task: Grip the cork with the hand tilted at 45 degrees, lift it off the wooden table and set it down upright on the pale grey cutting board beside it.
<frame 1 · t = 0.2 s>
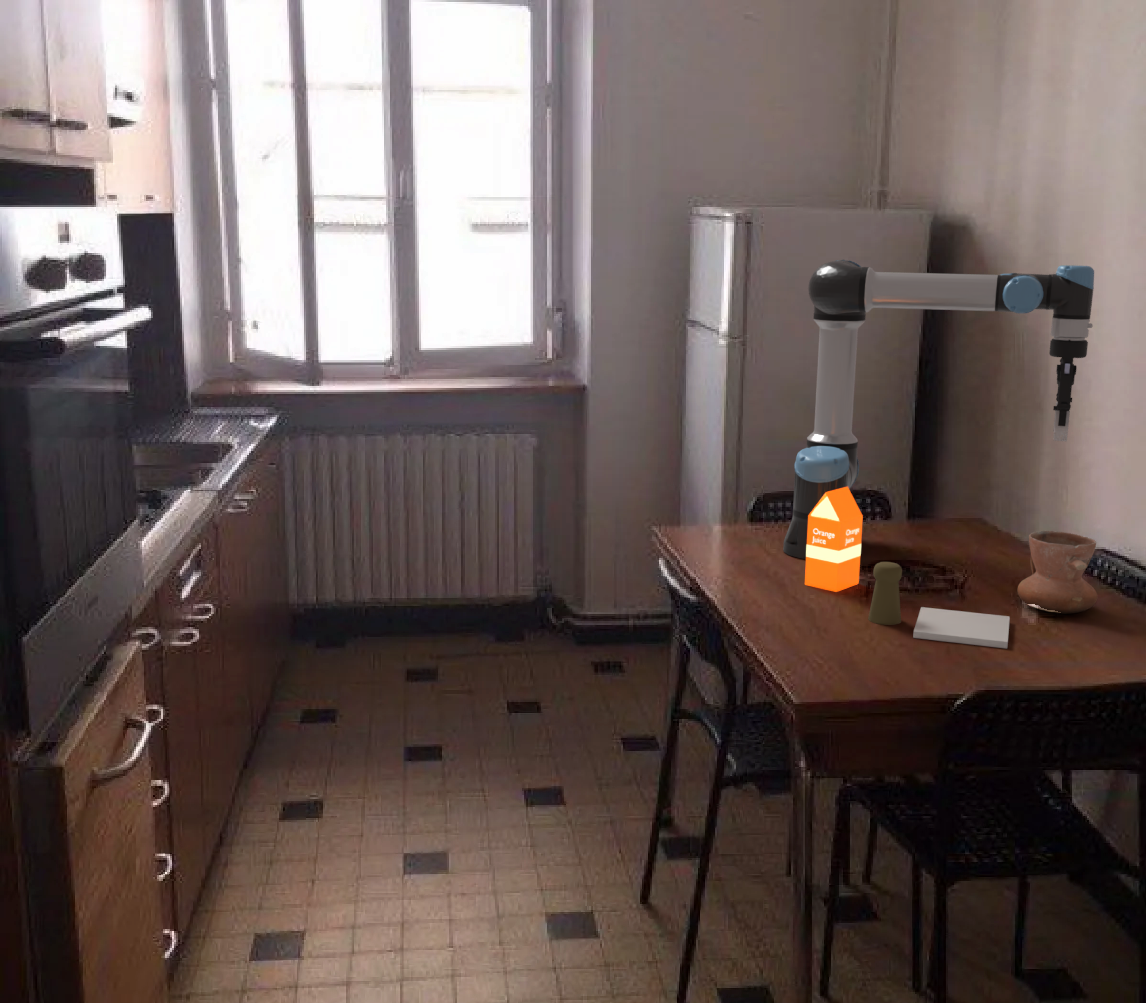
hand: (1059, 436, 274), 28 cm above the table, tool pointing down, fingers open, 13 cm apart
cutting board: (962, 630, 230), on the table
cork: (884, 620, 236), on the table
ceramic jug: (1053, 608, 245), on the table
orange juice: (831, 585, 259), on the table
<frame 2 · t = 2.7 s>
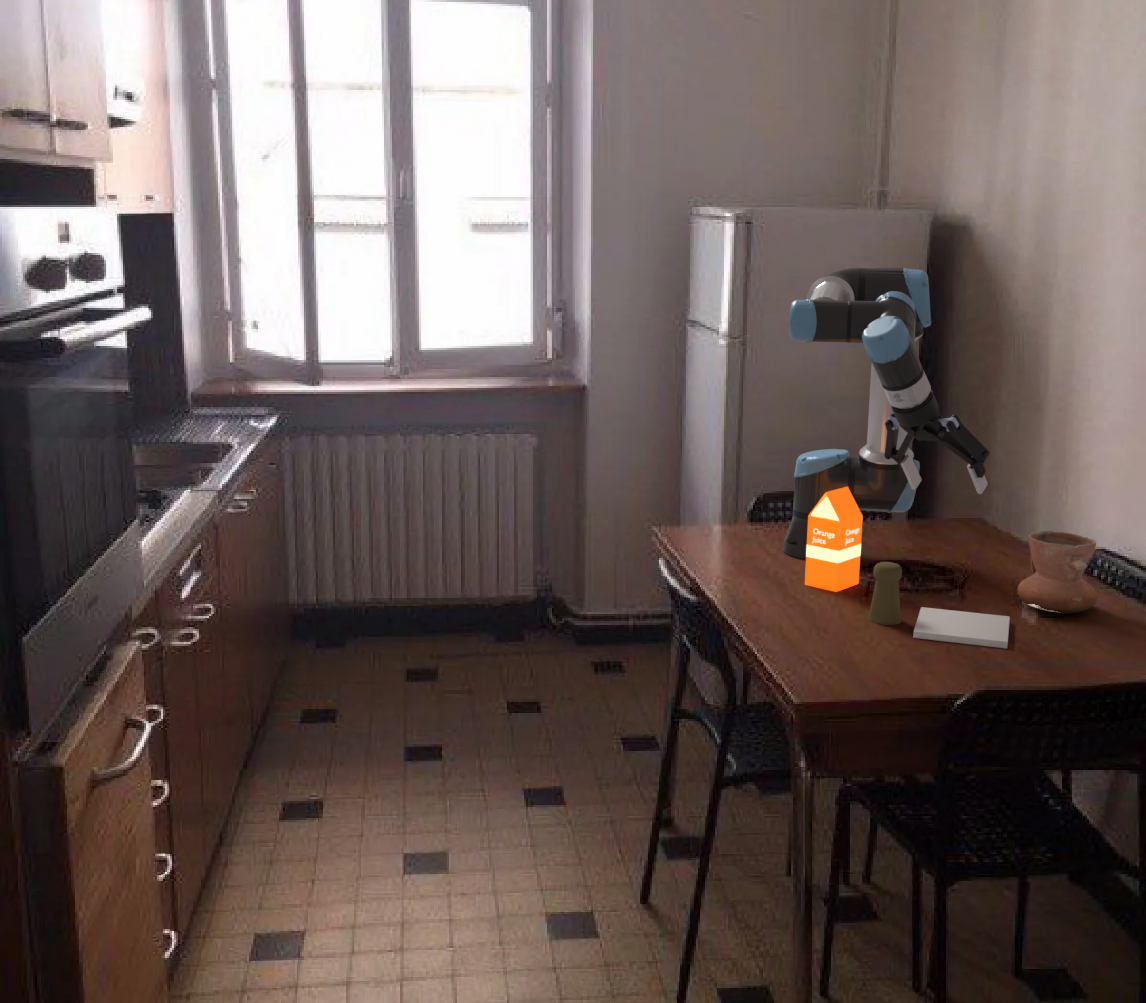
hand: (949, 486, 232), 25 cm above the table, tool tilted 35°, fingers open, 13 cm apart
nothing on the table moved.
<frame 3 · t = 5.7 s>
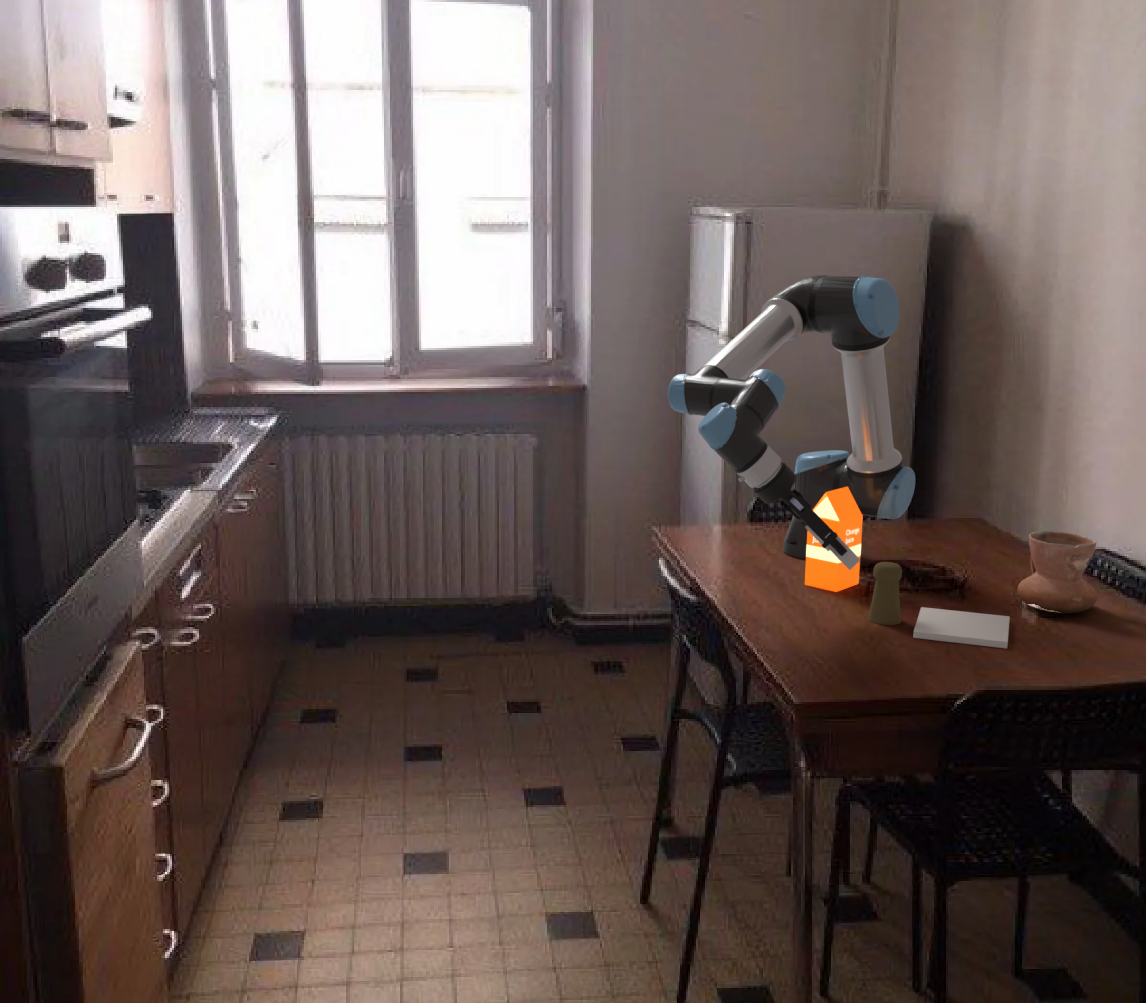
hand: (843, 555, 232), 13 cm above the table, tool tilted 45°, fingers open, 13 cm apart
nothing on the table moved.
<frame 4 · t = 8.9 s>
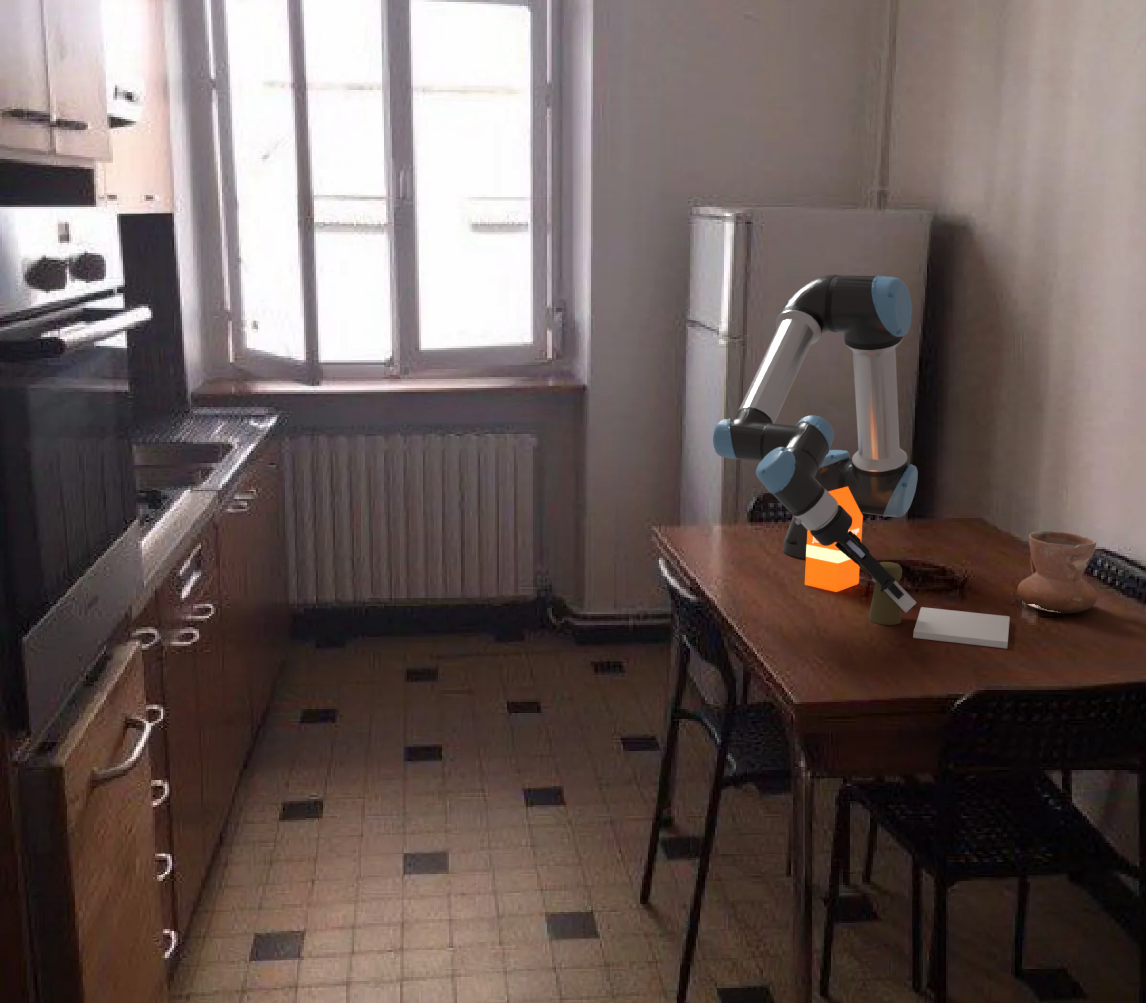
hand: (904, 602, 235), 3 cm above the table, tool tilted 45°, fingers closed on cork, 5 cm apart
cork: (884, 620, 236), on the table, touching gripper
everything else where it was.
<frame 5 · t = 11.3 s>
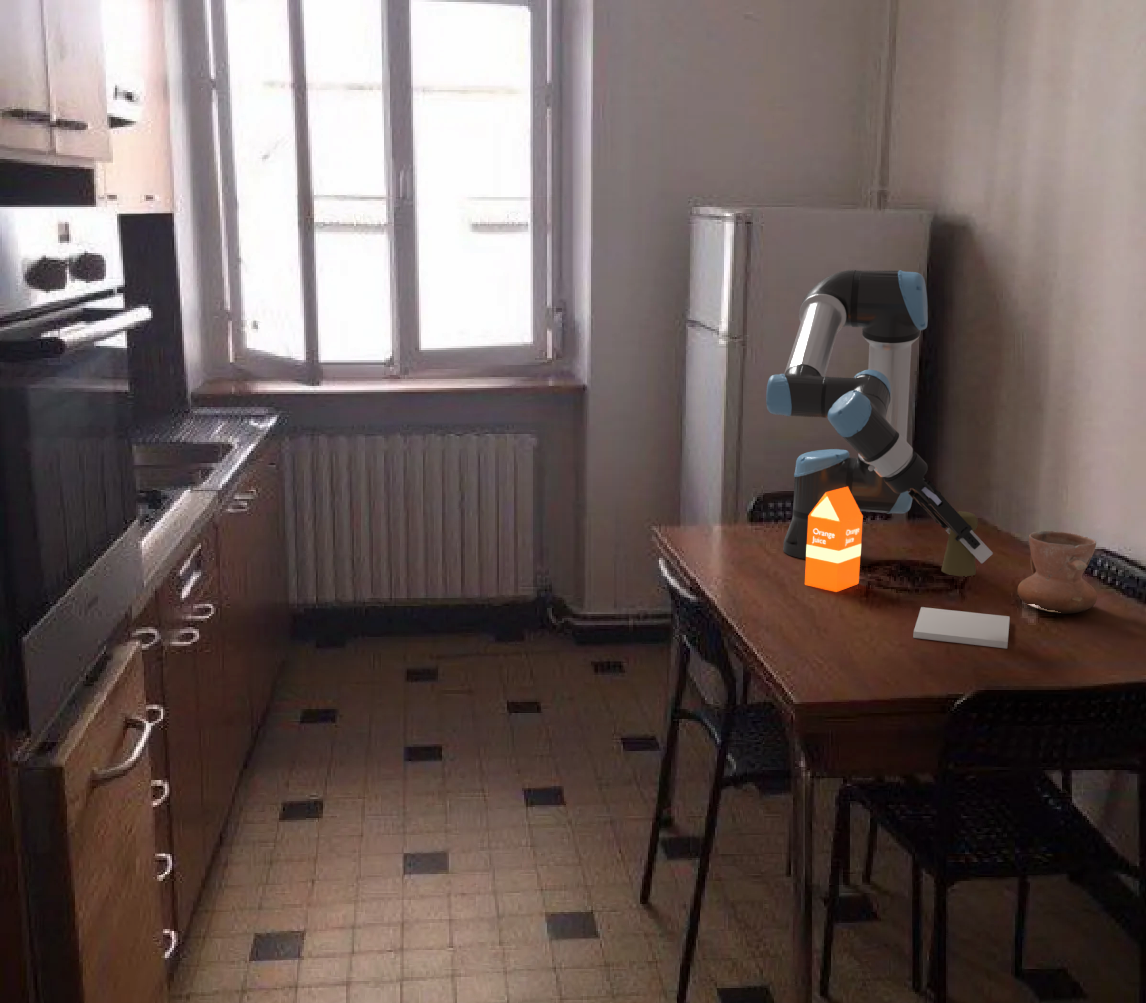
hand: (980, 553, 227), 14 cm above the table, tool tilted 45°, fingers closed on cork, 5 cm apart
cork: (958, 572, 228), point 11 cm above the table, touching gripper
everything else where it was.
when the fingers open (6 cm above the table, at t = 13.7 s): cork drops 1 cm, resting on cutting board.
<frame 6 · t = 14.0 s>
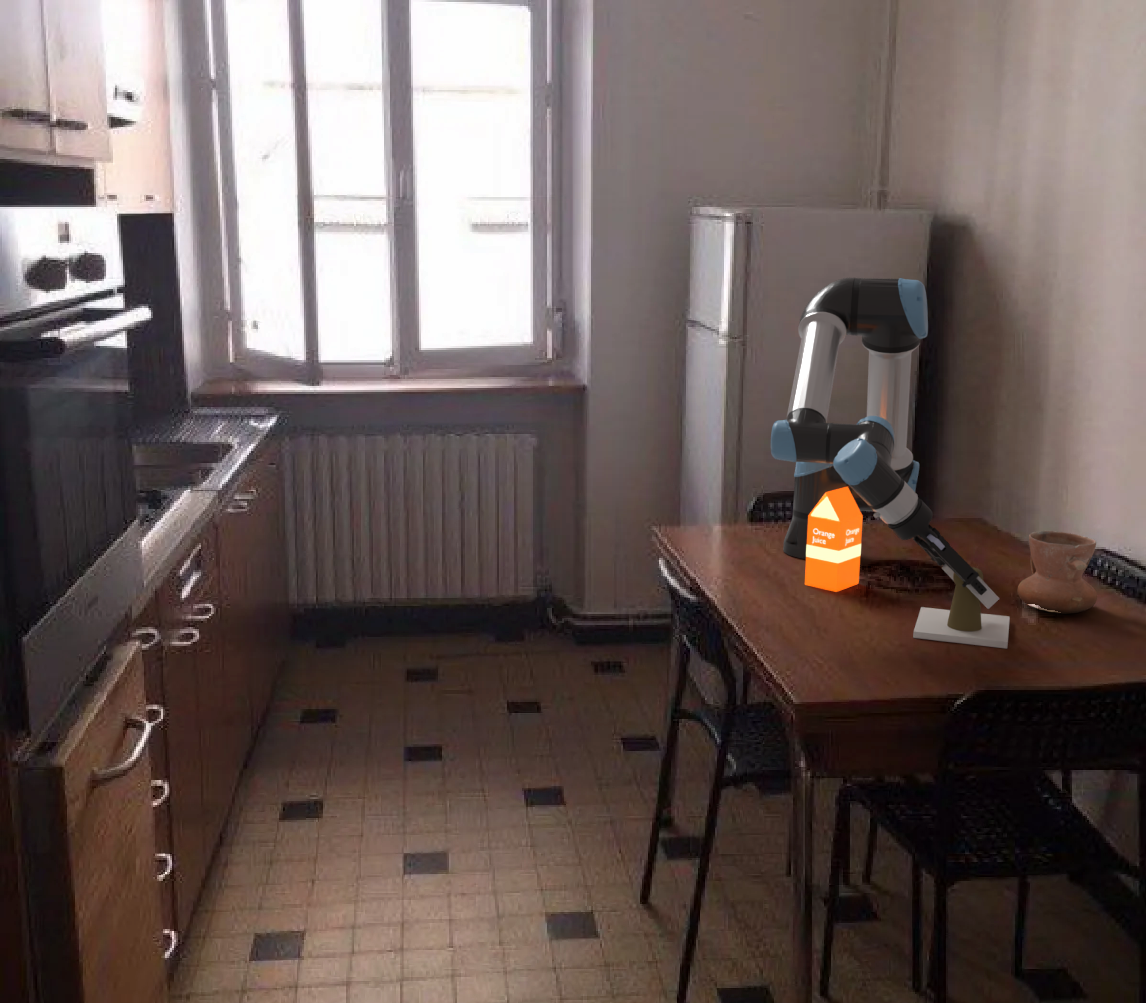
hand: (981, 594, 229), 7 cm above the table, tool tilted 45°, fingers open, 10 cm apart
cork: (964, 627, 228), point 1 cm above the table, touching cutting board
everything else where it was.
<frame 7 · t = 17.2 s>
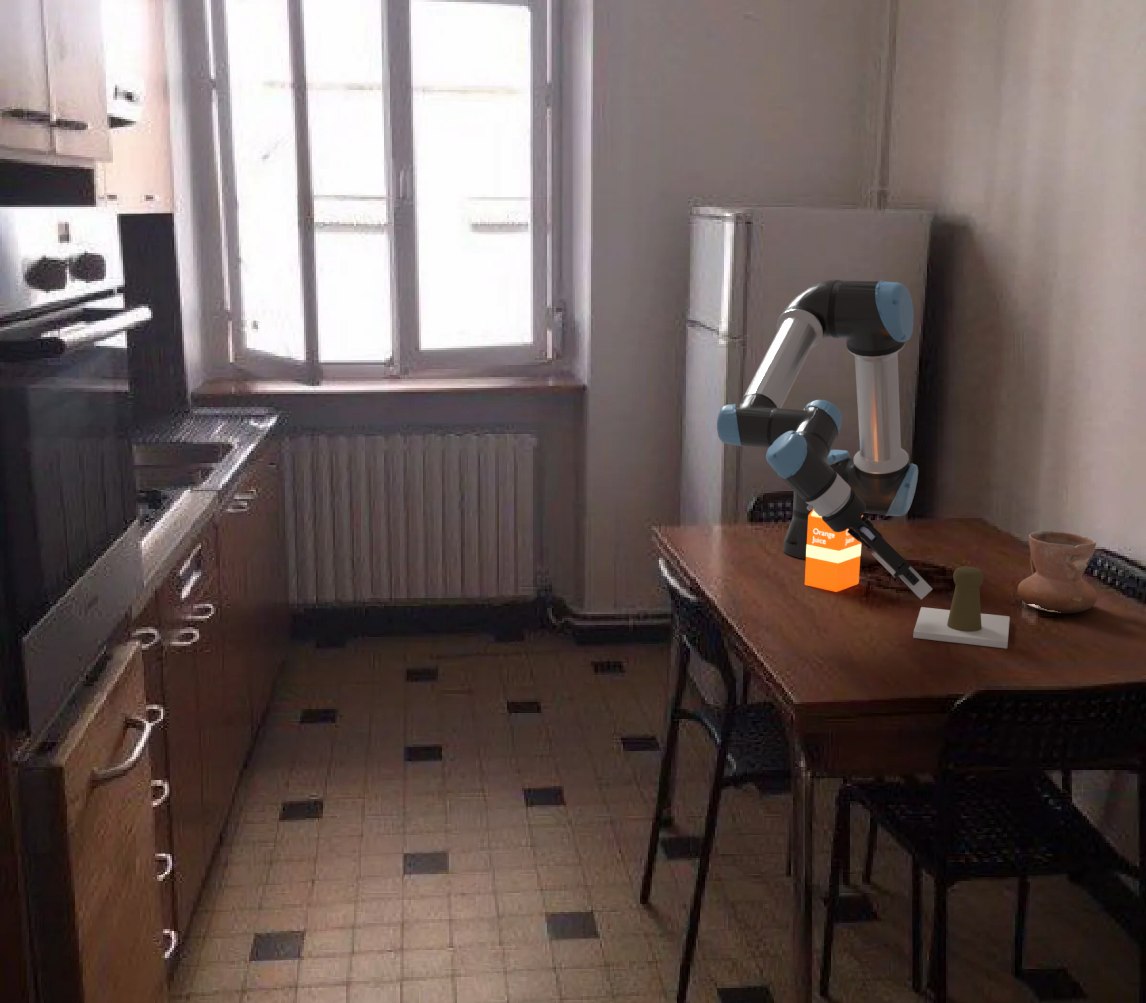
hand: (912, 582, 228), 9 cm above the table, tool tilted 45°, fingers open, 13 cm apart
nothing on the table moved.
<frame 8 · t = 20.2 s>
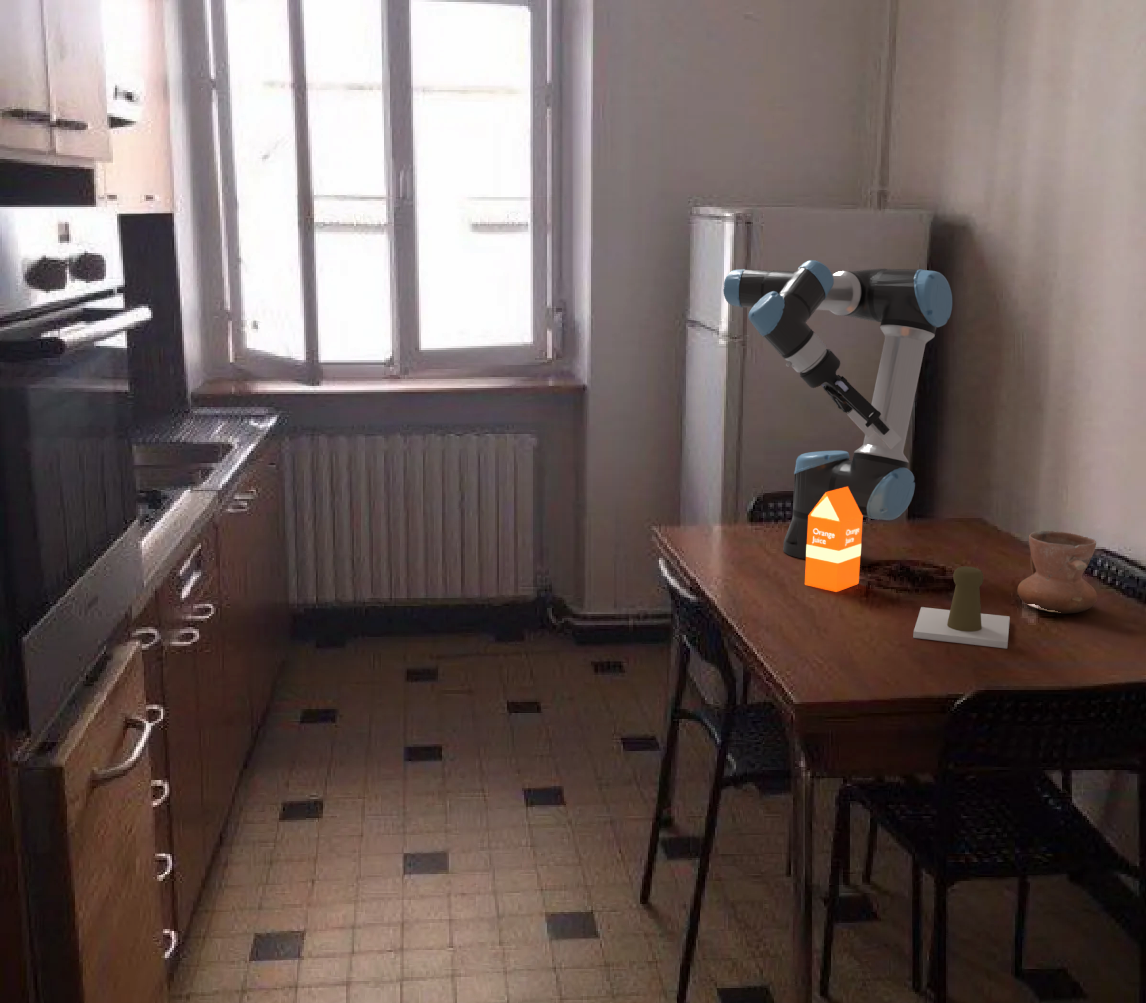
hand: (884, 438, 246), 32 cm above the table, tool tilted 45°, fingers open, 13 cm apart
nothing on the table moved.
at the end: cork inside the target area on the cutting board (1.6 cm from its centre), point 1.0 cm above the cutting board's base; cork tilted 0°; the gripper is holding nothing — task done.
